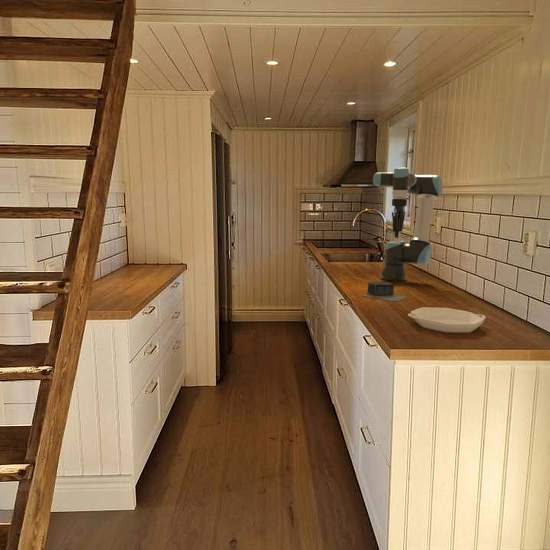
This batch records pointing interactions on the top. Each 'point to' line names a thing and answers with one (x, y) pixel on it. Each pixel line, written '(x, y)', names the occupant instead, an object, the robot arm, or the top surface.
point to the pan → (447, 319)
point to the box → (380, 288)
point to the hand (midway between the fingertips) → (396, 243)
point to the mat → (386, 297)
